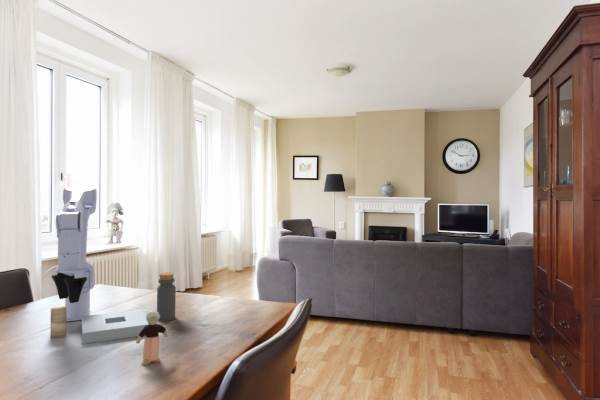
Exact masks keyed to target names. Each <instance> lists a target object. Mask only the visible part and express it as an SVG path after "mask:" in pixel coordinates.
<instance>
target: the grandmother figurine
mask: <svg viewBox="0 0 600 400" xmlns="http://www.w3.org/2000/svg"><path fill="white" fill-rule="evenodd" d="M159 318H160V315H159V313H158V312H157V310H154V309H152V310H150V311H148V312H147V313H146V320H147V322H148V324H149V325H146V326H145V327H144V328H143V329H142V331H141V332H140V333H139V336H137V338H136V340H135V344H140V343H141V341H142V340H143V338H144V342H143V348H142V349H143V350H142V362H141V366H147V365H150V364H151V362H152V363H159V362H161V358H160V357H159V355H160V334H162V335H163V337H165V338H167V337H168V336H169V334H168V332H167V328H166V327H165V326H164V325H162V324H159V323H158V322H159V320H158V319H159ZM159 333H160V334H159Z"/></svg>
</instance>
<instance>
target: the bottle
mask: <svg viewBox="0 0 600 400" xmlns="http://www.w3.org/2000/svg"><path fill="white" fill-rule="evenodd" d="M174 275H175V273H173V272H161V273H159V274H158V276H159V279H158V283H159V284H160V285H158V286H157V289H156V290H157V291H156V292H157V295H156V296H157V297H156V312H158V313H159V315H160V318H159V319H158V321H161V322H167V321H168V322H169V321H172V320H174V319H176V296H177V295H176V285H174V283H175V278H174Z"/></svg>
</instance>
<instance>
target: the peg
mask: <svg viewBox="0 0 600 400" xmlns="http://www.w3.org/2000/svg"><path fill="white" fill-rule="evenodd" d="M67 323H68V322H67V307H65V305H64V306H62V305H59V306H54V307H51V308H50V332H49V334H50V338H53V339H56V338H63V337H65V336H67Z"/></svg>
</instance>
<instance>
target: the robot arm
mask: <svg viewBox="0 0 600 400" xmlns="http://www.w3.org/2000/svg"><path fill="white" fill-rule="evenodd" d="M97 196H98V195H97V189H96V187H94V186H93V187H77V186H76V187H75V186H73V187H72V186H71V187H69V186H65V187H64V188H63V191H62V202H63V207H62V210H61V211H60V212H59V213H56V215H55V229H56V238H57V265H56V266H55V269H52V273H55V274H52V275H51V278H52V280H53V282H54V284H55V287H56V290H57V294H58V298H59V300H62V299H64V303H65V304H64V306H65V307H67V322H66V323H68V322H75V321H76V322H77V321H81V316H87V315H92V314H91V308H90V307H91V304H90V301H91V298H90V297H91V290H93V288H95V284H96V283H95V279H96V278H95V277H96V275H95V274H96V273H95V267H94V265H93V264H91V263H90V262H89V261H87V248H88V247H87V244H88V226H89V225H88V224H89V223H88V222H89V219H90V216H91V215H92V214H94V213H96V209H97V198H98V197H97Z"/></svg>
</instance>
